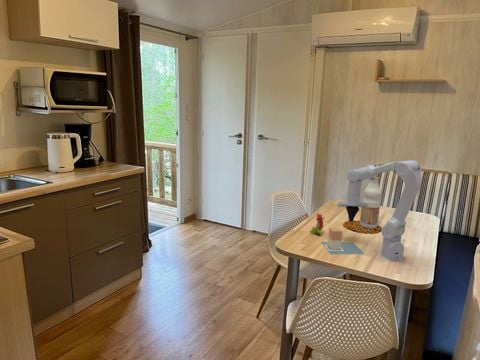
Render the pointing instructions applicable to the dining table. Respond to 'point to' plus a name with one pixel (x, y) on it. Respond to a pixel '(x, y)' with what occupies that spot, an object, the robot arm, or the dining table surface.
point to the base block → (334, 244)
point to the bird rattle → (318, 225)
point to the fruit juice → (371, 204)
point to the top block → (335, 234)
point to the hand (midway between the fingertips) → (350, 220)
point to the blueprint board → (344, 248)
